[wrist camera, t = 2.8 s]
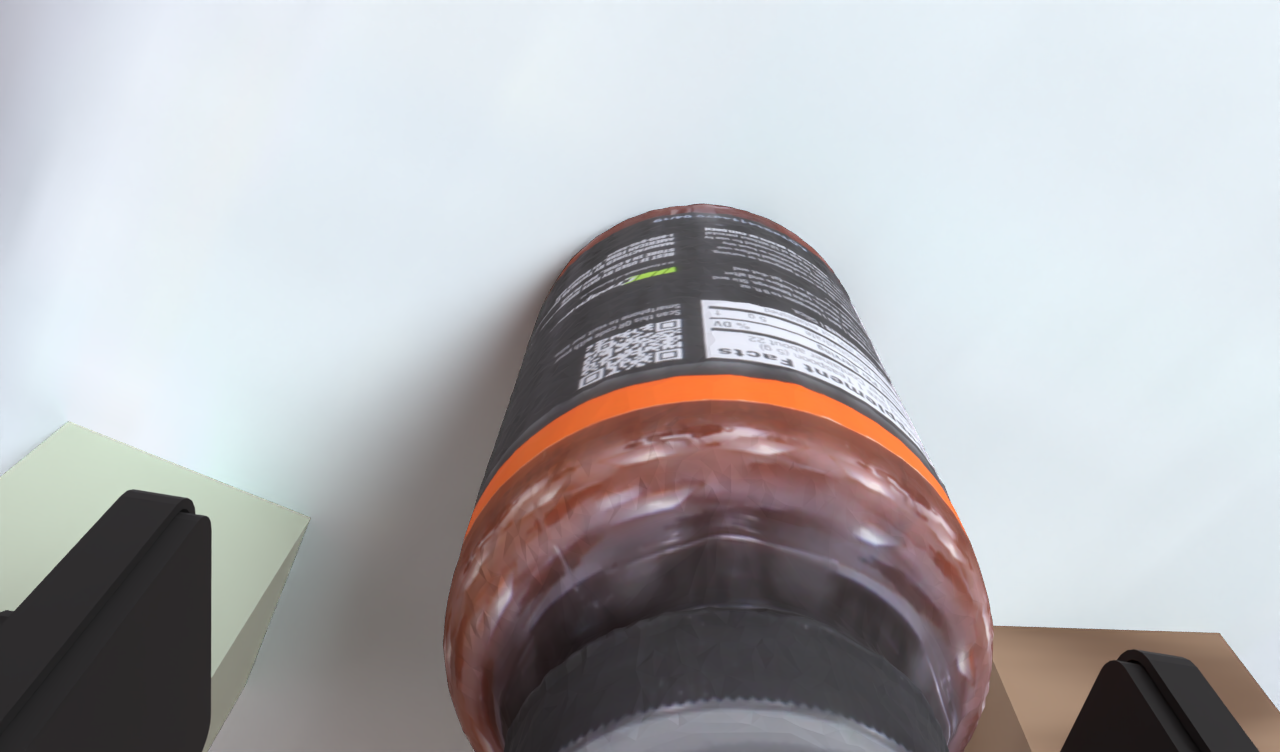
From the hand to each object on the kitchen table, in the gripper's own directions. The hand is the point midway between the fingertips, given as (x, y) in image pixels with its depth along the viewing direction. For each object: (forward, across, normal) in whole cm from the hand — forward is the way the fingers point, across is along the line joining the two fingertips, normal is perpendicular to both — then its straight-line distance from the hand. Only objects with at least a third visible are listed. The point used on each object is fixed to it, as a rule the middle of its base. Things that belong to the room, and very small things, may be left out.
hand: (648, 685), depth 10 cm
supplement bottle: (+9, -1, 0) cm, 9 cm away
